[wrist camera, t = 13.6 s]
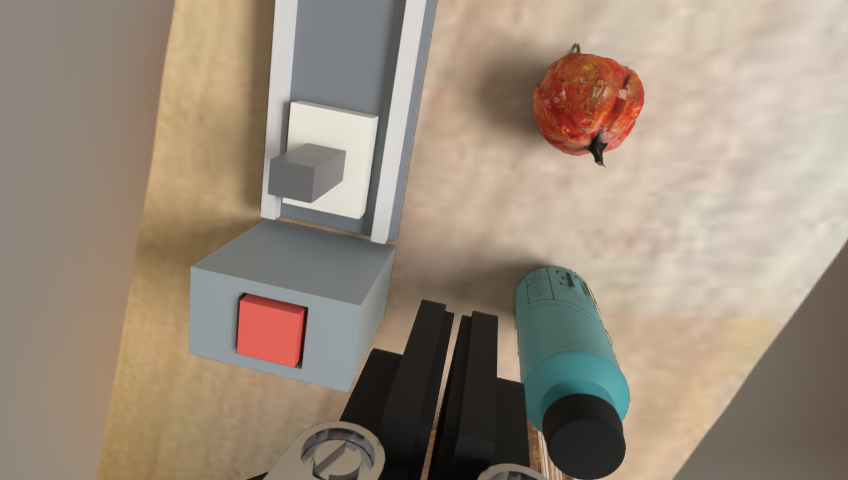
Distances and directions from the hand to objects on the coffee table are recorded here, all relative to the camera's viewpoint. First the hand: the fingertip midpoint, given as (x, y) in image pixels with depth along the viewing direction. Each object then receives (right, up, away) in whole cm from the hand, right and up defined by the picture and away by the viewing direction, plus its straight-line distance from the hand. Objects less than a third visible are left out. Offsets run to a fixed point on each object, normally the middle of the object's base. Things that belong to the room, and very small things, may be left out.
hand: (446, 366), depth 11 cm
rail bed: (-7, +15, +30) cm, 34 cm away
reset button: (-11, -2, +28) cm, 30 cm away
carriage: (-8, +9, +30) cm, 33 cm away
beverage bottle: (+11, -2, +33) cm, 35 cm away
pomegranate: (+11, +14, +28) cm, 33 cm away
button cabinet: (-9, 0, +35) cm, 37 cm away
